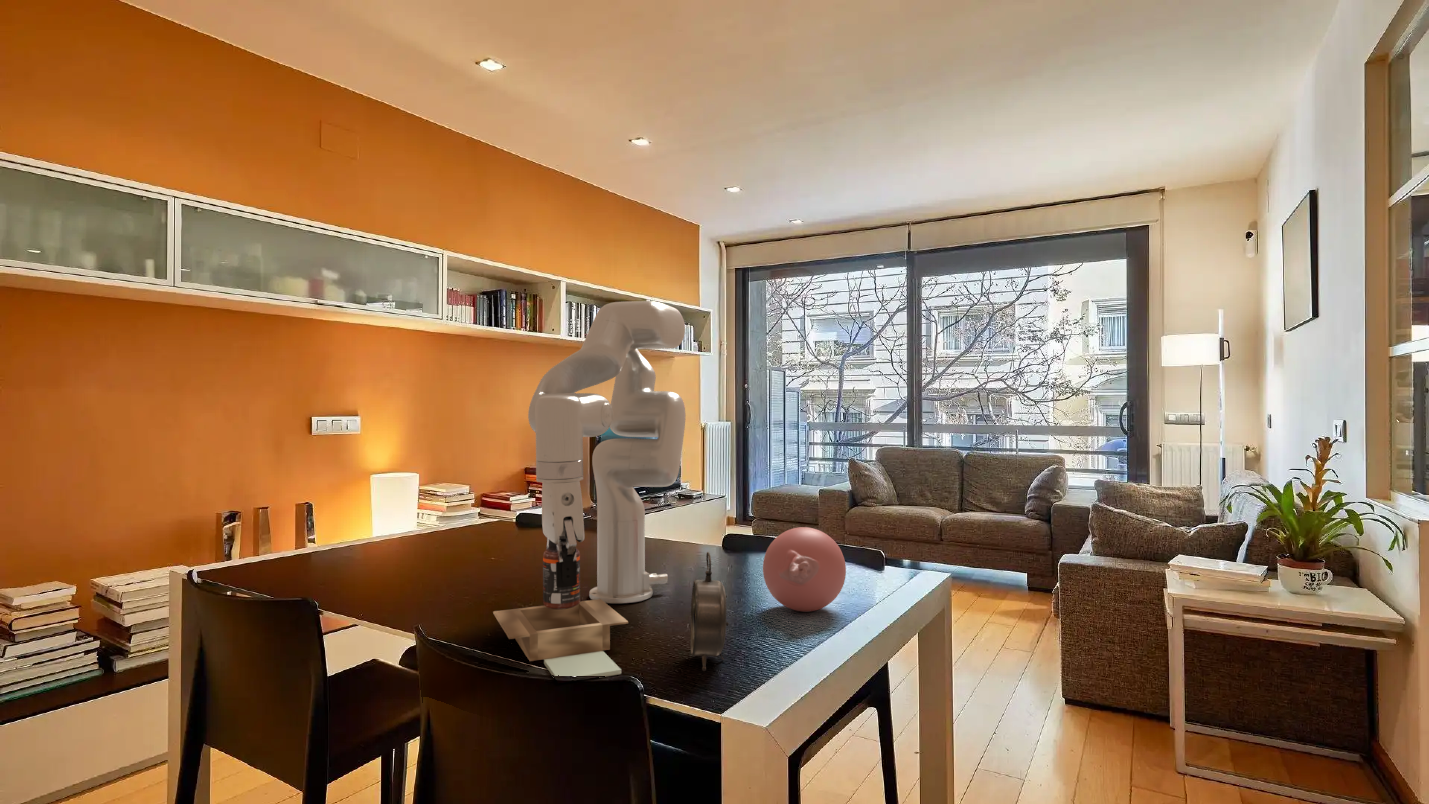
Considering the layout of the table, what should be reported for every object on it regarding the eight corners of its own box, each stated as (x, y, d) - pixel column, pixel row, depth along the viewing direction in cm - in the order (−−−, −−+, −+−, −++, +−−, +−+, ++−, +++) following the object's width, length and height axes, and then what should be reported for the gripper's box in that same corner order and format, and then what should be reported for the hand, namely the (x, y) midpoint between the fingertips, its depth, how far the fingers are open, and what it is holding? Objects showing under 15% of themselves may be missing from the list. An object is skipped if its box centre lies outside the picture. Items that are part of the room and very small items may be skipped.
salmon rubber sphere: (745, 624, 128) (745, 536, 128) (774, 596, 147) (774, 519, 147) (833, 633, 123) (832, 541, 123) (852, 603, 142) (851, 523, 142)
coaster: (602, 654, 112) (602, 650, 112) (621, 673, 104) (621, 669, 104) (543, 663, 108) (543, 659, 108) (558, 684, 100) (558, 679, 100)
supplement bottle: (562, 613, 116) (561, 541, 116) (535, 607, 119) (534, 537, 119) (588, 603, 121) (587, 534, 121) (561, 597, 124) (560, 531, 124)
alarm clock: (689, 649, 115) (689, 545, 115) (723, 648, 115) (723, 545, 115) (693, 674, 104) (692, 559, 104) (731, 673, 104) (730, 559, 104)
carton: (600, 621, 130) (600, 599, 130) (628, 646, 116) (628, 621, 116) (493, 635, 122) (493, 611, 122) (509, 664, 108) (509, 637, 108)
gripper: (597, 475, 113) (598, 591, 114) (569, 464, 129) (571, 566, 129) (548, 478, 110) (550, 598, 111) (526, 467, 126) (527, 571, 126)
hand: (561, 580), depth 120 cm, fingers closed on supplement bottle, 6 cm apart
